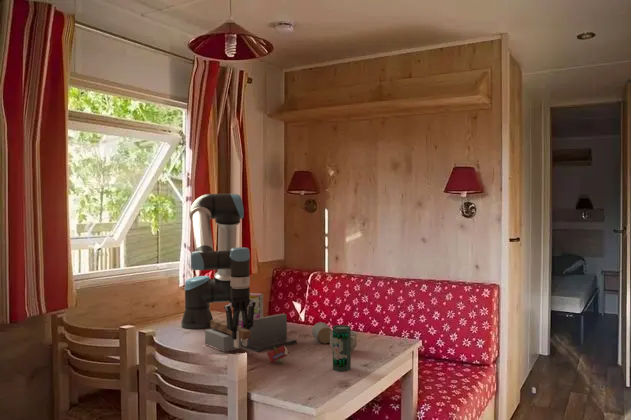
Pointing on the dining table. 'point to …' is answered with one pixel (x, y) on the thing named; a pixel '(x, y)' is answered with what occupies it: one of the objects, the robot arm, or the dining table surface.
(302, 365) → the dining table surface
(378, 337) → the dining table surface
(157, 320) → the dining table surface
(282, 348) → the geometric puzzle
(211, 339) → the grey stand
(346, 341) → the can
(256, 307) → the candy bar box
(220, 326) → the walnut bar
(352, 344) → the teacup
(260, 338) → the metal ridge
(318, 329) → the ceramic mug
